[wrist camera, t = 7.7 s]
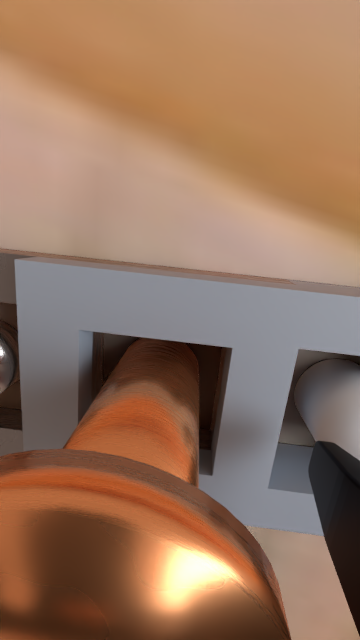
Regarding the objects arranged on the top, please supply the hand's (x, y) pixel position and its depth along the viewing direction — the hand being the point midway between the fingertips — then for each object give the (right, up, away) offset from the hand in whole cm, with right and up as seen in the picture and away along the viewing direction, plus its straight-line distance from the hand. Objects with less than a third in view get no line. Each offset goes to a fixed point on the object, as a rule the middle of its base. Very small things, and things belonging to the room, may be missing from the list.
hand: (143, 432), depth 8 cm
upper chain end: (+3, +1, +3) cm, 5 cm away
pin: (0, +1, +3) cm, 4 cm away
